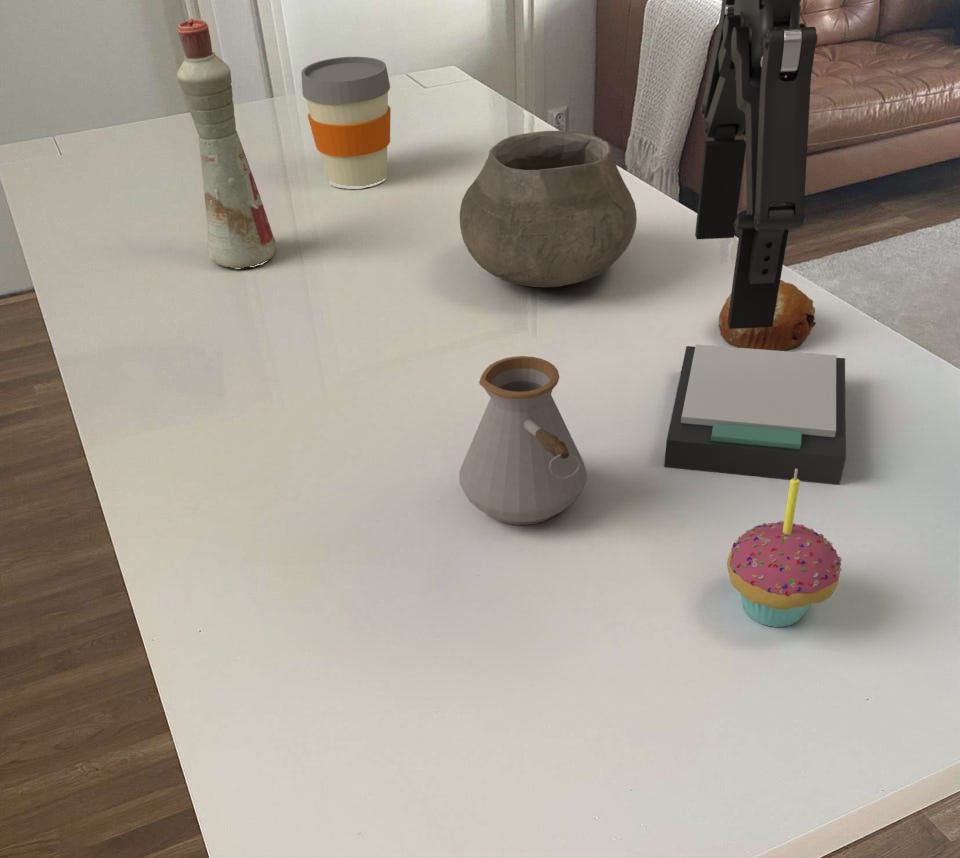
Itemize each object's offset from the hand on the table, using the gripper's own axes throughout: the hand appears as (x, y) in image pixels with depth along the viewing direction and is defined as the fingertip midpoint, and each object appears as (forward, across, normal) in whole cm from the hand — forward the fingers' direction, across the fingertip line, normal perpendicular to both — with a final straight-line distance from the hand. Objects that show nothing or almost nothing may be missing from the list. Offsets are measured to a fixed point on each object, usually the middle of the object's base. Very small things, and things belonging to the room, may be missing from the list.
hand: (730, 278), depth 69 cm
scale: (+25, -20, +9) cm, 33 cm away
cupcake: (+25, +7, +6) cm, 26 cm away
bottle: (+25, -65, -50) cm, 85 cm away
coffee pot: (+25, -4, -13) cm, 29 cm away
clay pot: (+25, -56, -10) cm, 62 cm away
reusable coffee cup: (+25, -92, -37) cm, 102 cm away
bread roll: (+25, -39, +14) cm, 48 cm away
